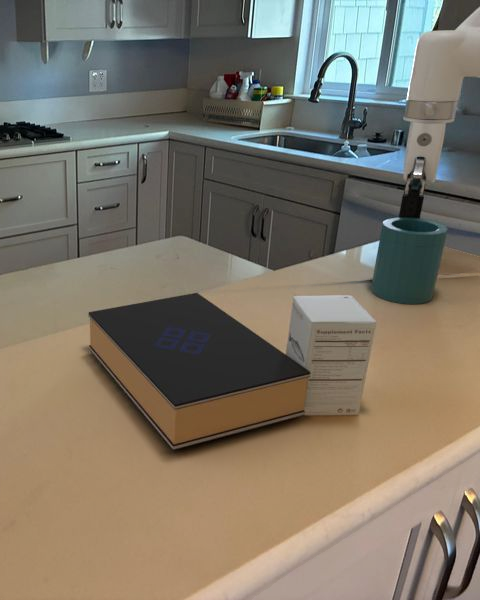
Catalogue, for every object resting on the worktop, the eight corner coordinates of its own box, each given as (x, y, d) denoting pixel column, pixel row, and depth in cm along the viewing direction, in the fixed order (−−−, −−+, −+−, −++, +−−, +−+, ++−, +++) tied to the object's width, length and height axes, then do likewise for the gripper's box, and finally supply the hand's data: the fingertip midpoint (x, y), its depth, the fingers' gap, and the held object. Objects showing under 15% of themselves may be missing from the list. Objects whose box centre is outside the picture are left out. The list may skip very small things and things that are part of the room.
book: (195, 332, 93) (197, 292, 91) (304, 421, 72) (311, 371, 69) (88, 353, 88) (88, 311, 85) (172, 456, 67) (175, 404, 64)
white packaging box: (280, 383, 80) (291, 294, 74) (338, 383, 79) (353, 293, 74) (297, 417, 73) (310, 321, 68) (360, 416, 72) (379, 320, 67)
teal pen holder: (410, 281, 110) (423, 216, 105) (444, 302, 101) (461, 232, 96) (360, 284, 109) (371, 219, 104) (390, 306, 100) (404, 236, 96)
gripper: (456, 119, 94) (433, 227, 101) (455, 106, 107) (434, 202, 114) (401, 117, 97) (383, 222, 104) (407, 104, 111) (390, 198, 118)
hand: (410, 211), depth 109 cm, fingers open, 9 cm apart
